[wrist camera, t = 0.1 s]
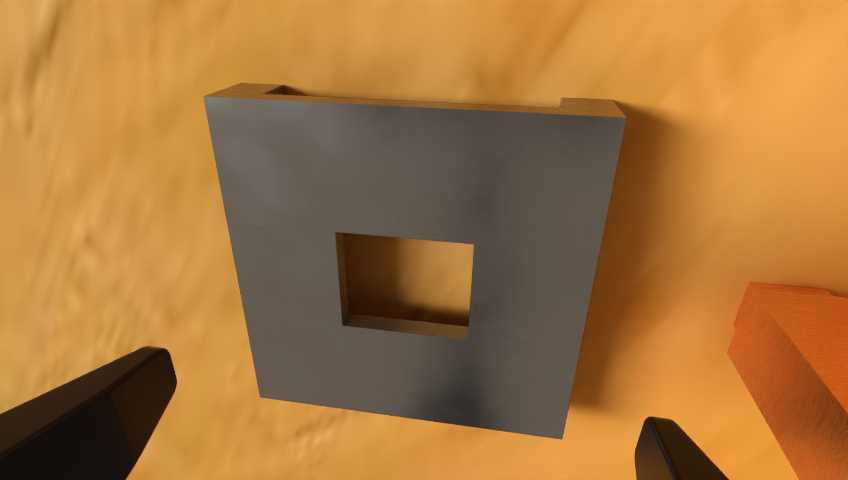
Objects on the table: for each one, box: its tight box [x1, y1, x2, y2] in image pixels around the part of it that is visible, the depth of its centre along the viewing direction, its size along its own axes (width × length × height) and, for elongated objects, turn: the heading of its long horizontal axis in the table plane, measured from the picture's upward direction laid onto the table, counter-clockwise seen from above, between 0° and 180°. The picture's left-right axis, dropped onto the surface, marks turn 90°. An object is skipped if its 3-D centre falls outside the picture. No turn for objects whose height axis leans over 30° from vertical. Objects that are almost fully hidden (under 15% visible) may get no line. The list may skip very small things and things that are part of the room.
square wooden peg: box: [727, 282, 848, 480], centre depth 19 cm, size 4×4×10 cm
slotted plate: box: [203, 83, 627, 439], centre depth 23 cm, size 16×16×3 cm
